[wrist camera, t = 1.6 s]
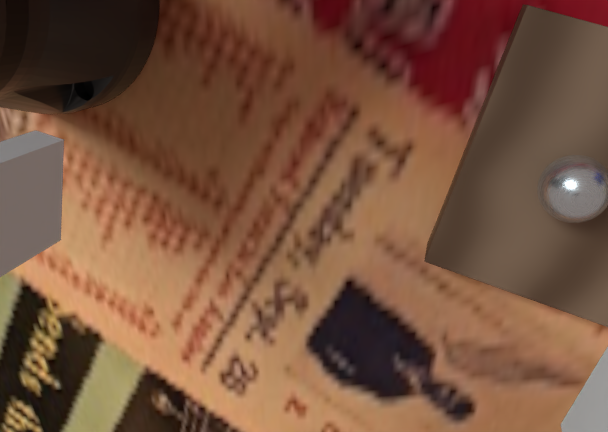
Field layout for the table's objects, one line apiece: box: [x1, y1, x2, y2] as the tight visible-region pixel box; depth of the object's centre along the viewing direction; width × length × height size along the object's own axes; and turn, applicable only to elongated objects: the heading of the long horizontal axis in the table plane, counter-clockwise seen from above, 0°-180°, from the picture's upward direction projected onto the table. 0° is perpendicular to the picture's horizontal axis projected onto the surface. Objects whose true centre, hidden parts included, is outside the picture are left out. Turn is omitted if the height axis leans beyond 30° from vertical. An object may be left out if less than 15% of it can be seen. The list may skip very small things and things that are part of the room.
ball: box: [537, 155, 608, 223], centre depth 25 cm, size 3×3×3 cm
